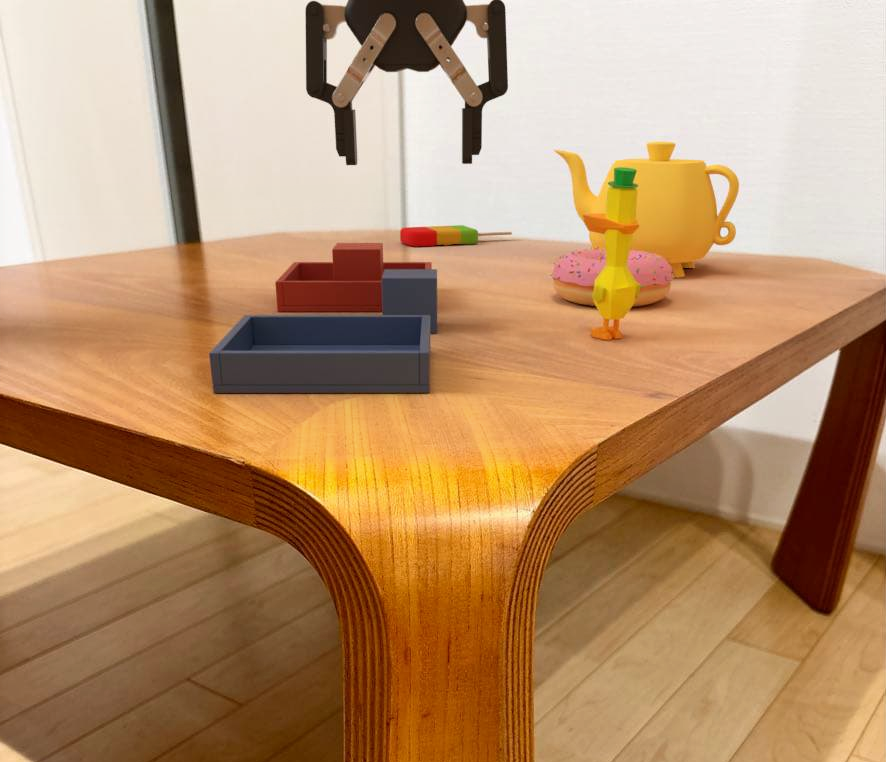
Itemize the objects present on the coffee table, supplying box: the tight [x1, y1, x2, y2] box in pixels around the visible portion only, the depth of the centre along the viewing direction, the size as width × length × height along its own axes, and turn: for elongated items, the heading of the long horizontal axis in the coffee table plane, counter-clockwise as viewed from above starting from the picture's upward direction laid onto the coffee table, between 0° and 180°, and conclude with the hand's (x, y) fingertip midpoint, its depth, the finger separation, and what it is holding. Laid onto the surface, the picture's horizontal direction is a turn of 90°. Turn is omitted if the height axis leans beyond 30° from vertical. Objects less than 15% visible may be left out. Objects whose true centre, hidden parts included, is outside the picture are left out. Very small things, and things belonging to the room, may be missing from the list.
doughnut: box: [549, 247, 675, 308], centre depth 83 cm, size 11×11×4 cm
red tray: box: [274, 261, 433, 313], centre depth 83 cm, size 13×11×2 cm
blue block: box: [381, 268, 438, 334], centre depth 72 cm, size 4×4×4 cm
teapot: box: [553, 141, 740, 278], centre depth 97 cm, size 14×20×13 cm
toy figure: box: [583, 167, 641, 341], centre depth 67 cm, size 7×4×12 cm, turn 27°
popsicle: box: [399, 224, 513, 248], centre depth 119 cm, size 6×15×2 cm, turn 110°
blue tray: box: [208, 314, 431, 394], centre depth 60 cm, size 13×11×2 cm
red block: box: [331, 242, 384, 281], centre depth 82 cm, size 4×4×4 cm
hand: (409, 164), depth 68 cm, fingers open, 8 cm apart
